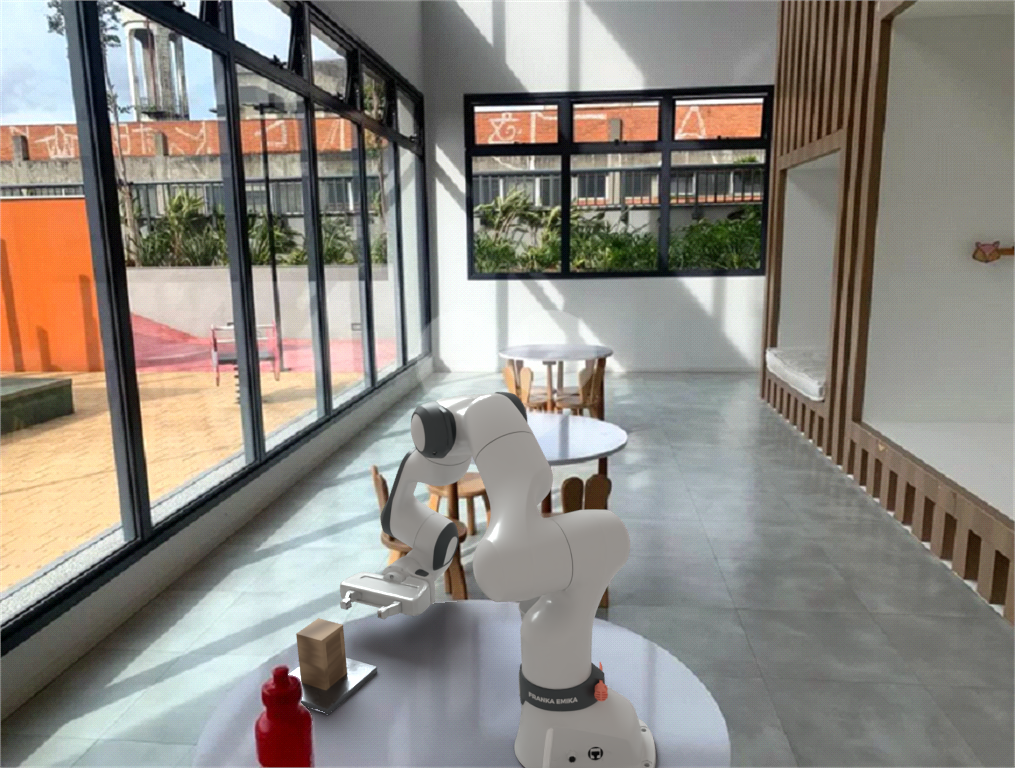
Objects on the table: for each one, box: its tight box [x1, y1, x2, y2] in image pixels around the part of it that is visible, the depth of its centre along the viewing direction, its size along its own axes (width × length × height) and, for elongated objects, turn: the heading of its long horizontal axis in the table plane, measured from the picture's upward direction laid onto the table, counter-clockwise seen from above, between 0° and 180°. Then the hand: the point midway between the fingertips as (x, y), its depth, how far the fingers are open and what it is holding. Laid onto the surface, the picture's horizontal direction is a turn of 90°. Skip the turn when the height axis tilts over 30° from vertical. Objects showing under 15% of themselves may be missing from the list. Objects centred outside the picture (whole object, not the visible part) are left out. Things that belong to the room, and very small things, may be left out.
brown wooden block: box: [295, 618, 347, 690], centre depth 134 cm, size 6×6×10 cm
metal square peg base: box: [289, 657, 378, 715], centre depth 134 cm, size 14×14×6 cm
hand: (361, 610), depth 143 cm, fingers open, 8 cm apart
